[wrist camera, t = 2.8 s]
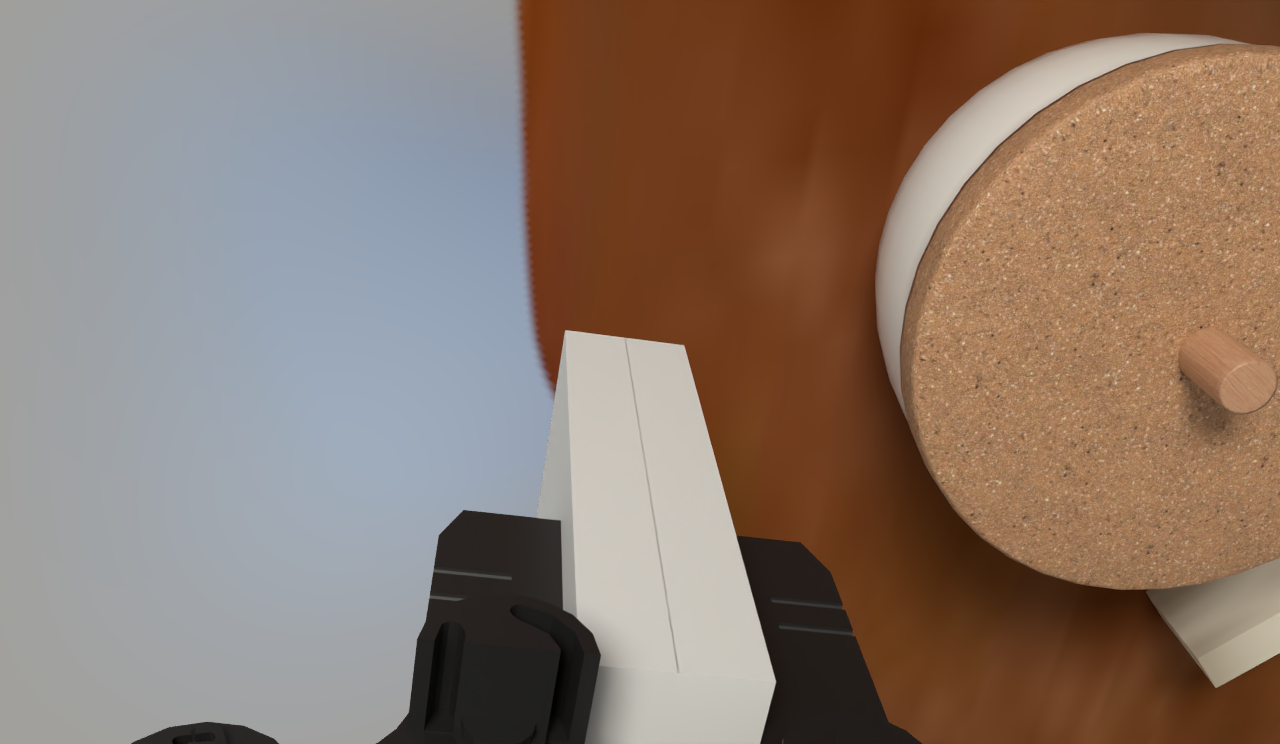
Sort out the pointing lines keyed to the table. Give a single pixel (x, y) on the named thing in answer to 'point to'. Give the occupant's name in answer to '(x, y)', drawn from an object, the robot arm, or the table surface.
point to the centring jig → (1226, 620)
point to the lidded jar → (1099, 310)
